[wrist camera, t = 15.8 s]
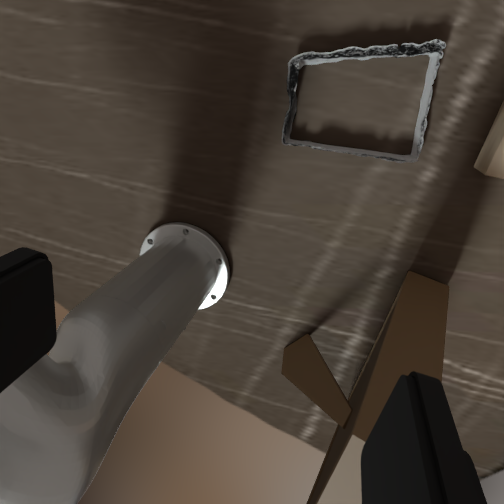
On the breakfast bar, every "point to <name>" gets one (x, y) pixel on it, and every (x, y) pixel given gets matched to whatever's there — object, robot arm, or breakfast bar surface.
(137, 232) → the breakfast bar surface
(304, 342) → the photo frame
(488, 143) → the birch block
